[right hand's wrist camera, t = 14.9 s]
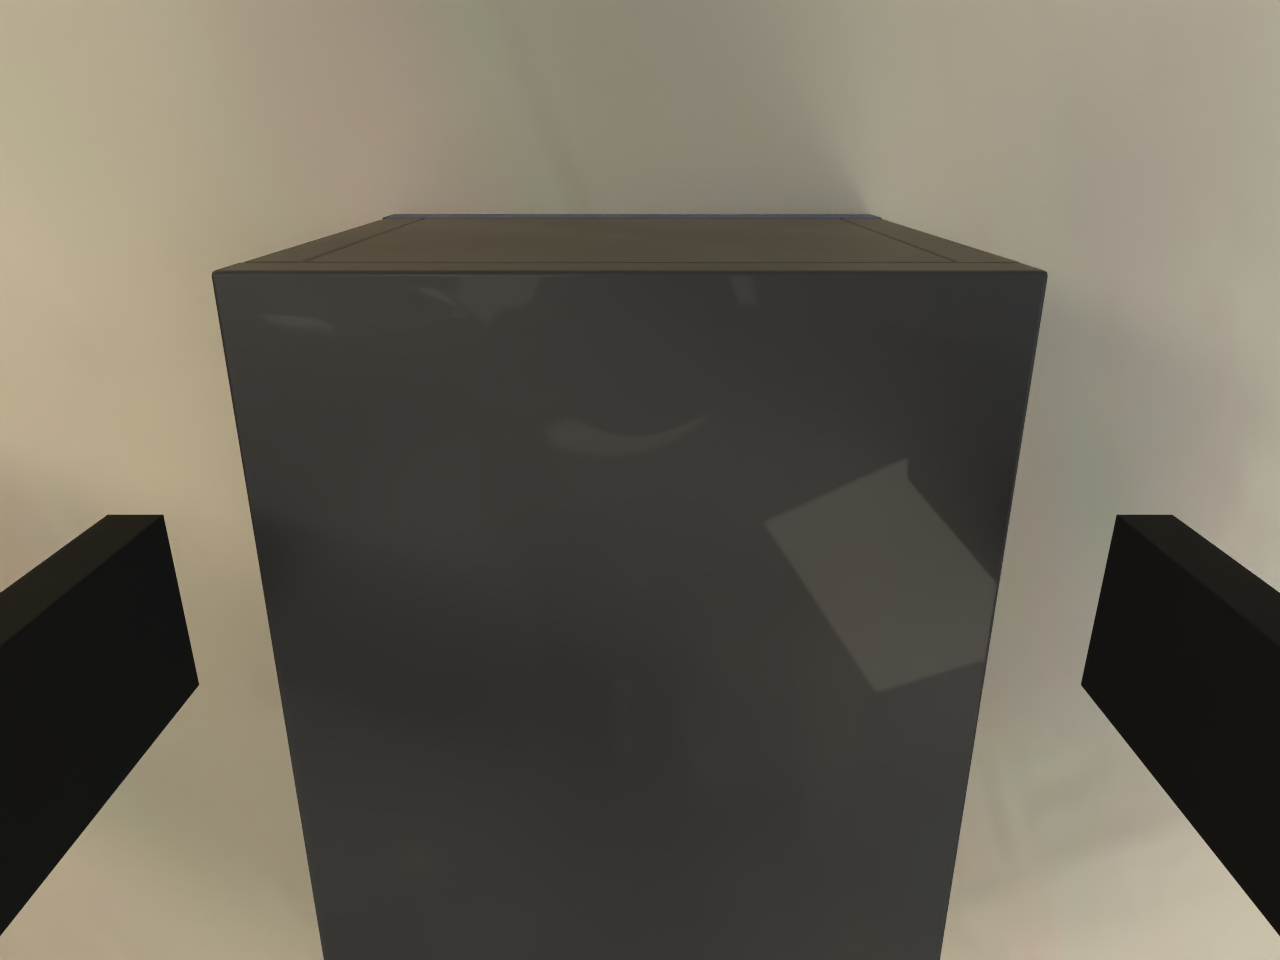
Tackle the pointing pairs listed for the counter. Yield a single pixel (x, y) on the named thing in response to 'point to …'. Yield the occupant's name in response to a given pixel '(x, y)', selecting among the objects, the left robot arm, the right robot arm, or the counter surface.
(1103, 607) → the right robot arm
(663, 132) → the counter surface
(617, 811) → the cabinet
